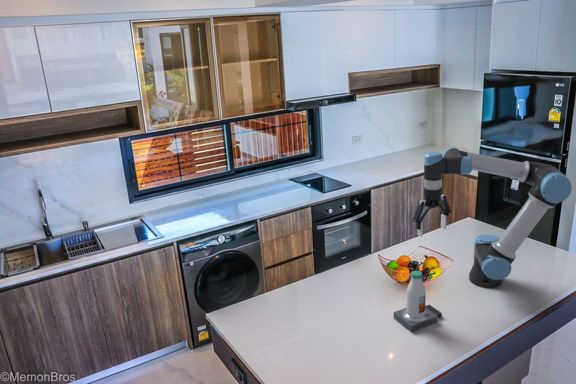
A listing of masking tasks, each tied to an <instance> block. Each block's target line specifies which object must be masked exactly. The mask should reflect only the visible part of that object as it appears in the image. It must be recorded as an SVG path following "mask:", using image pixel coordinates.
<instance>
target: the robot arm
mask: <svg viewBox="0 0 576 384" xmlns="http://www.w3.org/2000/svg"><path fill="white" fill-rule="evenodd" d="M423 161H424V163H423V187H424V188H423V196H424V198H423V200H421V199H419V200H418V203H417V207H416V209H415V212H414V215H413V217H412V222H414V223H415V224H416V225H415V228H416V235H417V236H419V237H421V238H422V237H423V235H424V233H423V232H424V231H423V230H424V228H423V226H424V225H423V224H424V223H423V220H424V219H425V218H426V217H425V216H427V214H428V212H429V211H431V209H434V208H437V209H438V210H439V211H440V212H441V214H440V228H441V229H443V230H447V221H448V217H449V216H450V214H451V213H452V209H451V207H450V205H449V203H448V202H449V201H448V200H447V195H445V194H443V193H442V187H443V175H444V176H445V175H446V176H447V175H448V176H449V175H452V176H453V175H470V174H471V173H472V171H477V172H481V173H486V174H491V175H496V176H501V177H506V178H511V179H516V180H518V181H520V183H525V184H527V185H531V186H532V187H531V188H530V189H529V190H528V198H527V200H526V201H525V203H524V204H523V206H522V207H521V209H520V210H519V211H518V213H517V214H516V215H515V217H514V218H513V219H512V221H510V224H508V226H507V228H506V229H505V230H504V231H503V233H502V235H501V236H500V237H499V236H497V235H493V234H479V235H477V236H476V237H475V239H474V251H473V252H474V253H473V264H472V267H471V269H470V271H469V274H468V280H469V281H470V283H471V284H473V285H475V286H477V287H481V288H486V289H487V288H489V289H490V288H491V289H492V288H497V287H500V286H502V284H503V279H505V278H507V277H508V276H509V275H510V274H511V273H512V264H513V263H514V261H515V260H516V258H517V255H516V252H517V251H518V250H519V248H520V247H521V245H522V244H523V242H525V241H526V239H527V238H528V236H529V235H530V234H531V232H532V231H533V229H534V228H535V227H536V226H537V224H538V223H539V222H540V220H541V219H542V218H543V216H544V215H545V214H546V212H547V211H548V210H549V209H553V208H555V207H556V205H558V204H559V203H561V202H564V201H566V200H567V199H568V198H569V197H570V195H571V194H572V190H573V189H572V188H573V187H572V186H573V185H572V183H571V181H570V180H569V177H567V175H566V174H564V173H562V171H560V170H559V169H558V168H557V167H555V166H553V165H550V164H545V163H541V162H534V161H528V160H525V161H524V162H523V161H517V160H511V159H506V158H500V157H495V156H491V155H485V154H481V153H474V152H470V151H469V152H468V151H464V150H459V148H456V147H452V146H451V147H448V148H447V149H446V150H445V151H444V152H443V153H442V152H439V151H430V152H427V153H426V154H425V155H424V159H423Z"/></svg>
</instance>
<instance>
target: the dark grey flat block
mask: <svg viewBox="0 0 576 384" xmlns="http://www.w3.org/2000/svg"><path fill="white" fill-rule="evenodd" d="M442 315H443V313H442V312H441V311H440V310H438V309H437V308H435V307H434V306H432V305H431V304H427V305H425V315H424V317H422V318H419V319H415V318H411V317H409V316H408V314H407V307H404V308H401V309H399V310H396V311H394V312H393V319H394V320H395V321H397V322H398V324H400V325H401V326H403V327H404V328H405V329H406V330H408V331H409V332H410V333H413V332H416V331H419V330H421V329H424V328H426V327H429V326H431V325H434V324H437V323H438V322H439V319H440V318H442V317H443V316H442Z"/></svg>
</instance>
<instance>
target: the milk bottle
mask: <svg viewBox="0 0 576 384" xmlns="http://www.w3.org/2000/svg"><path fill="white" fill-rule="evenodd" d="M422 279H423V272H422V271H419V270H413V271H411V272H410V282H409V283H408V286H407V288H406V289H407V290H406V308H407V314H408V316H409V317H411V318H415V319H419V318H422V317H424V315H425V306H426V301H427V300H426V293H427V292H426V287H425V284H424V283H423V280H422Z"/></svg>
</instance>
